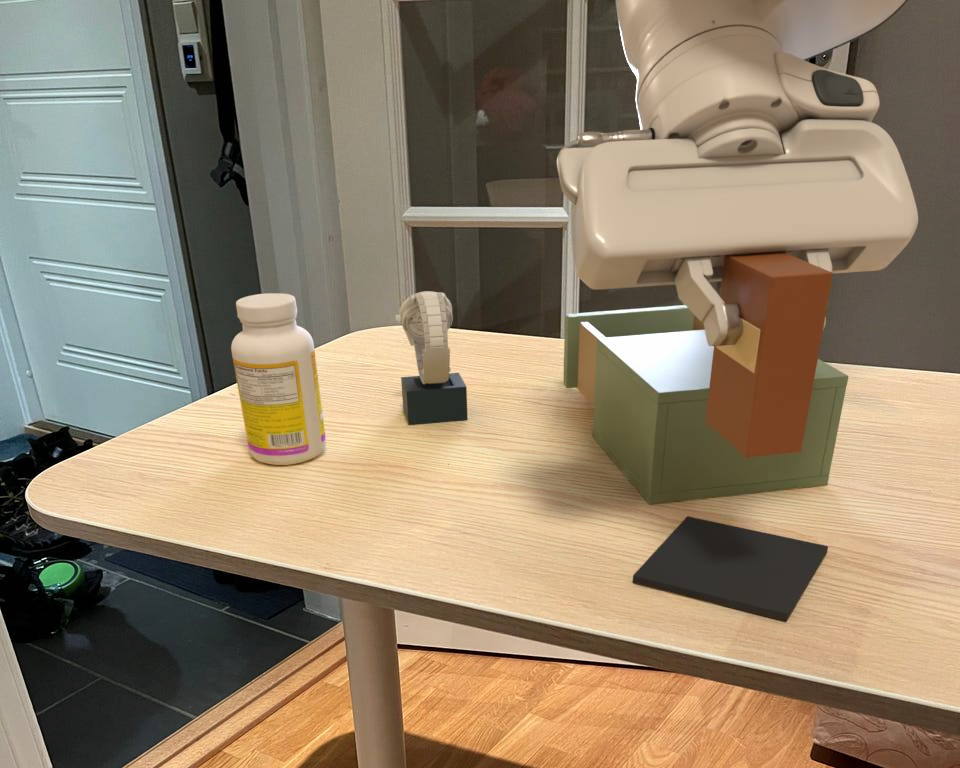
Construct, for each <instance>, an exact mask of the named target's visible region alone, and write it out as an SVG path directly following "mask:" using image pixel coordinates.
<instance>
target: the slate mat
mask: <svg viewBox="0 0 960 768" xmlns="http://www.w3.org/2000/svg"><path fill="white" fill-rule="evenodd" d="M828 551H829V546H828V545H825V544H820V543H815V542H811V541H806V540H801V539H796V538H792V537H787V536H783V535H779V534H778V535H777V534H775V533H774V534H773V533H768V532H764V531H759V530H755V529H750V528H745V527H741V526H737V525H731V524H726V523H721V522H718V521H712V520H708V519H702V518H699V517H693V516H689V515H687V516H686V517H684V519H683V520H682V521H681V522H680V523H679V524H678V526H677V527H676V528H675V529H674V530H673V531H672V532H671V533H670V534H669V536H668V537H666V539H665V540H664V541H663V542H661V544H660V545H659V546H658V547H657V549H655V551H654V552H653V553H652V554H651V555H650V556H649V557H648V558H647V559H646V560H645V561H644V562H643V564H642V565H641V566H640V567H639V568H638V570H637V571H636V572H635V573H634V574H633V575H632V583H633V584H636V585H640V586H644V587H646V588H647V587H648V588H651V589H655V590H660V591H663V592H667V593H671V594H676V595H679V596H684V597H687V598H691V599H695V600H699V601H701V602H702V601H703V602H706V603H710V604H715V605H718V606H722V607H727V608H730V609H734V610H739V611H742V612H747V613H750V614H754V615H758V616H762V617H766V618H769V619H774V620H778V621H782V622H788V620H789V618H790V616H791V615H792V613H793V612H794V610H795V608H796V607H797V605H798V603H799V602H800V600H801V598H802V596H803V595H804V593H805V591H806V590H807V588H808V586H809V584H810V583H811V581H812V580H813V578H814V576H815V574H816V573H817V571H818V569H819V568H820V566H821V564H822V562H823V561H824V559H825V558H826V556H827V554H828Z"/></svg>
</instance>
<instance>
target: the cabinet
mask: <svg viewBox="0 0 960 768" xmlns="http://www.w3.org/2000/svg"><path fill="white" fill-rule="evenodd" d="M713 352H714V346H709V344H708V341H707V337H706V333H705V330H695V331H682V332H670V333H657V334H645V335H632V336H620V337H607V338H597V349H596V371H595V394H594V407H593V418H592V438H593V439H594V440H595V442H596V443H597V444H598V445H599V446H600V447H601V449H602V450H603V451H604V452H605V453H606V454H607V456H608V457H609V458H610V460H612V462H613V463H614V464H615V465H616V467H618V469H619V470H620V471H621V473H623V475H624V476H625V477H626V479H627V480H628V481H629V482H630V483H631V485H633V487H634V488H635V489H636V490H637V492H638V493H639V494H640V495H641V496H642V497H643V499H644V500H645V501H646V502H647V503H648V505H656V504H657V505H658V504H666V503H672V502H673V503H675V501H676V502H683V501H685V502H686V501H692V500H693V501H695V500H704V499H712V498H723V497H728V496H729V497H730V496H741V495H748V494H758V493H766V492H776V491H784V490H793V489H804V488H812V487H820V486H828V484H829V479H830V473H831V467H832V463H833V457H834V452H835V447H836V442H837V437H838V431H839V427H840V422H841V417H842V412H843V406H844V401H845V396H846V391H847V386H848V381H849V375H847V374H846V373H844V372H843V371H841V370H839V369H837V368H835V367H834V366H832V365H830V364H829V363H826V362H825V361H823V360H822V359H820V358H818V361H817V366H816V372H815V377H814V383H813V389H812V394H811V400H810V405H809V411H808V417H807V422H806V428H805V433H804V439H803V445H802V450H801V452H794V453H785V454H775V455H765V456H755V457H745V456H744V455H743V454H741V453H740V452H739V451H738V450H737V449H736V448H735V447H733V446H732V445H731V444H730V443H729V442H728V441H726V440H725V439H724V438H723V437H722V436H721V435H720V434H718V433H717V432H716V431H715V430H714V429H713V428H711V427H710V426H709V425H708V424H707V423H706V422H705V420H706V412H707V403H708V395H709V386H710V378H711V369H712V360H713Z"/></svg>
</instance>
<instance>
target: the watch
mask: <svg viewBox="0 0 960 768" xmlns="http://www.w3.org/2000/svg"><path fill="white" fill-rule="evenodd" d="M453 321H454V315H453V305H452V303H451V301H450V299H449V298H448V297H447V295H446V293H444V292H441V291H440V292H439V291H438V292H436V291H431V290H430V291H429V290H424V291H420V292H417V293H414V294H411V295H410V296H409V297H407V298H406V299H405V300H404V301H403V303H402V304H401V306H400V308H399V313H398V314H396V315H395V323H396V325H400V324H401V326H402V329H403V331H404V334H405V335H406V337H407V339H408V342H409V344H410V347H413V346H414V353H415V354H414V355H415V360H416V366H417V371H418V375H413V376H412V375H411V376H401V377H400V382H401V383H400V384H401V396H402V409H403V412H404V416H405V418H406V421H407V424H408V425H409V426H412V425H424V424H435V423H444V422H445V423H446V422H456V421H458V422H459V421H468V390H467V385H466V383H465V382H464V379H463V378H462V376H461V373H460V372H452V373H451V369H452V368H451V367H450V366H451V365H450V362H451V361H450V360H451V349H450V347H449V338H448V337H449V336H448V335H449V334H448V331H449V330H450V328H451V327H452V325H453V324H452V323H453Z"/></svg>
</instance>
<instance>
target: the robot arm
mask: <svg viewBox="0 0 960 768" xmlns="http://www.w3.org/2000/svg"><path fill="white" fill-rule="evenodd" d="M908 1H909V0H615V8H616V13H617V14H616V15H617V20H618V21H617V22H618V27H619V32H620V37H621V43H622V47H623V52H624V56H625V58H626V62H627V63H628V65H629V67H630V69H631V71H632V72H633V74H634V75H635V77H636V90H635V105H636V113H637V117H638V120H639V127H640V129H625V130H619V131H612V132H601V131H586V132H581V133H579V134H577V136H576V139H574V140H571V141H569V142H567V143H566V144H565V145H563V146H562V148H560V150H559V152H558V155H557V156H556V157H557V158H556V168H557V169H556V170H557V174H558V179H559V185H560V188H561V191H562V193H563V194H564V196H565V198H567V200H568V201H570V202H571V204H570V205H571V206H570V232H571V233H570V234H571V249H572V258H573V266H574V271H575V275H576V276H577V278H578V279H579V280H581V281H582V283H583V284H585V286H587V287H588V288H590V289H591V290H598V291H599V290H600V291H601V290H613V289H614V290H615V289H627V288H642V287H643V288H644V287H654V286H656V287H657V286H672V285H675V288H676V293H677V297H678V300H679V301H680V302H681V303H682V304H683V305H686V307H687V308H688V309H689V310H690V311H691V312H692V313H693V314H694V315H695V316H696V317H697V318H698V319H699V320H700V321H701V322H703V324H704V328H705V333H706V337H707V341H708V344H709V346H724V345H735V343H736V342H737V339H739V338H740V337H741V335H742V333H743V323H742V320H741V319H740V318H739V316H740V314H741V312H740V308H739V304H738V303H732V304H725V302H724V301H723V300H722V299H721V297H720V294H718V292H717V291H716V290H715V288H713V286H712V285H711V283H714V282H715V283H716V282H722V275H723V266H724V257H725V255H733V254H749V253H764V252H780V251H782V252H784V253H787V254H789V255H791V256H794V257H796V258H798V259H801V260H803V261H806V262H808V263H810V264H813V265H815V266H818V267H820V268H822V269H825V270H827V271H830V272H832V273H833V274H847V273H859V272H860V273H861V272H862V273H863V272H876V271H881V270H884V269H886V268H887V267H888V266H889V265H890V264H891V263H892V262H893V261H894V260H895V259H896V258H897V257H898V256H899V254H901V252H902V251H903V250H904V249H905V248H906V247H907V246H908V244H909V243H910V242H911V240H912V238H913V236H914V235H915V232H916V230H917V228H918V224H919V213H918V207H917V204H916V200H915V196H914V192H913V189H912V186H911V182H910V179H909V176H908V174H907V170H906V167H905V165H904V162H903V160H902V157H901V154H900V152H899V150H898V147H897V145H896V144H895V142H894V140H893V138H892V137H891V136H890V133H889V134H888V132H887V131H886V130H885V129H884V128H882V127H881V126H880V125H879V124H876V123H874V122H872V121H873V120H874V117H875V116H876V114H877V112H878V110H879V108H880V96H879V92H878V90H877V88H876V86H875V85H874V83H872V82H871V81H870V80H868V79H865V78H863V77H858V76H854V75H852V74H851V75H850V74H847V73H842V72H839V71H835V70H832V69H829V68H825V67H822V66H819V65H816V64H815V63H811V62H810V61H809V60H811V59H813V58H816V57H819V56H822V55H823V54H826V53H829V52H831V51H834V50H835V49H838V48H840V47H842V46H845V45H846V44H849V43H852V42H853V41H856V40H858V39H861V37H864V36H866V35H868V34H870V33H871V32H874V31H875V30H876V29H878V28H879V27H881V26H882V25H884V24H885V23H886V22H888V21H889V20H890V19H891V18H892V17H893V16H895V15H896V14H897V13H898V12H899V11H900V9H902V8H903V7H904V6H905V4H906V3H907V2H908ZM826 324H827V317H826V316H825V321H824V327H823V330H824V329H825V328H826Z"/></svg>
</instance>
